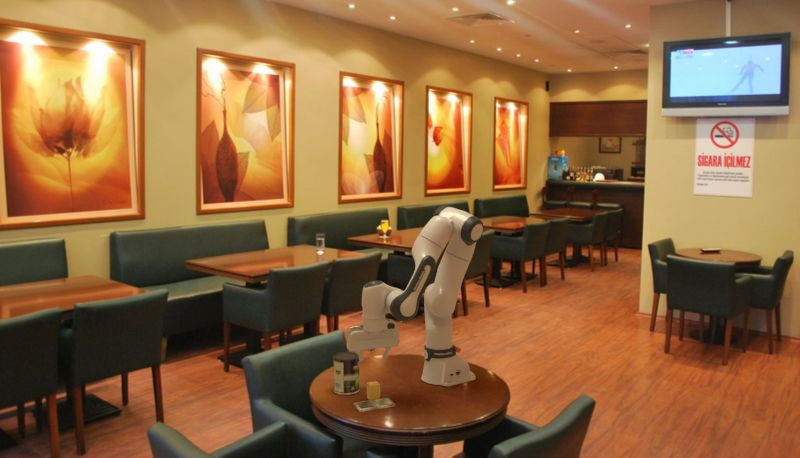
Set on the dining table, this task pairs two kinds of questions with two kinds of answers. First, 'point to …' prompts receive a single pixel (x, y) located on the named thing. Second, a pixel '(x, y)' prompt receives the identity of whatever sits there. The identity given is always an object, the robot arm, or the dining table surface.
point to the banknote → (373, 404)
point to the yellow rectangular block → (373, 390)
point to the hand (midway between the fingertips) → (373, 359)
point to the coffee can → (346, 373)
